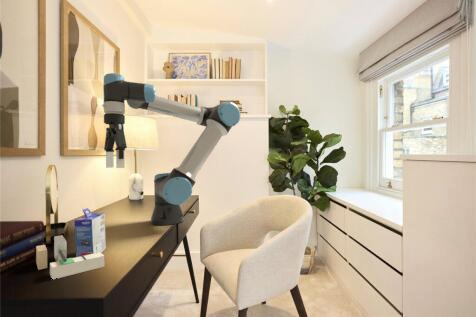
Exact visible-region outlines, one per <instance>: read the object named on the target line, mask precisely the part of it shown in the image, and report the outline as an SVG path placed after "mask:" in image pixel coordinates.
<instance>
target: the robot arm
mask: <svg viewBox="0 0 476 317" xmlns="http://www.w3.org/2000/svg"><path fill="white" fill-rule="evenodd" d="M102 88H103V104H102V105H101V106H102V108H103V113H104V114H103V123H104V124H105V125H108V127H106V129H105V130H106V131H105V140H104V147H103V148H104V151H105V168H109V169H110V168H112V169H113V168H114V152H115V156H116V157H115V160H116V161H115V163H116V164H115V165H116V169H125V150H126V149H127V147H128V146H127V142H126V136H125V129H124V125H125V124H126V123H125V122H126V121H125V120H126V118H125V117H126V116H125V113H126V106H125V105H126V104H125V101H126V103H127V105H128V107H129V108H131V109H132V110H133V109H135V110H137V109H141V110H146V111H149V112H154V113H158V114H161V115H165V116H170V117H174V118H178V119H182V120H187V121H190V122H195V123H196V124H197V125H198V126H203V127H205V128H204V129H203V131H202V133H200V135H199V136H198V139H196V141H195V142H194V144H193V146H192V147H191V148H190V150H189V151H188V152H187V154H186V156H185V157H184V158H183V160H182V161H181V163H180V165H179V166H178V167H173V169H172V170H170V172H164V173H157V174H155V175H154V180H153V182H154V183H153V184H154V186H153V187H154V207H153V210H152V214H151V216H150V223H151V224H152V225H157V226H168V225H169V226H170V225H176V224H179V223H182V222H183V221H184V214H183V211H182V208H181V205H182V204H184V203H187V202H188V201H189V199H190V198H191V196H192V194H193V188H194V186H195V184H196V181H197V180H196V176H197V175H198V173H199V172H200V170H201V169H202V168H203V166H204V165H205V163H206V161H207V160H208V159H209V157H210V155H211V154H212V152H213V151H214V149H215V147H216V146H217V145H218V143H219V141H221V138H222V137H223V136H227V135H228V134H229V132H230V130H231V129H232V128H233V127H235V126H236V125H238V124H239V122H240V121H241V112H240V108H239V107H238V105H237V104H236V103H234V102H232V101H222V102H221V103H220V104H217V105H215V106H213V107H212V106H211V107H206V106H200V107H198V106H195V105H192V104H188V103H184V102H180V101H177V100H172V99H169V98H166V97H162V96H159V95H156V94H157V93H156V92H157V90H156V86H155V85H153V84H149V83H142V82H131V81H127V80H125V77H124V75H121V74H118V73H114V72H113V73H111V72H110V73H106V74H104V76H103V87H102ZM114 146H116V147H115V150H114Z"/></svg>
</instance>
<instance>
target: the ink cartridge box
mask: <svg viewBox="0 0 476 317" xmlns="http://www.w3.org/2000/svg"><path fill="white" fill-rule="evenodd" d="M82 212H83V214H84V215H83V216H82V217H80V218H77V219H75V220H74V240H75V242H74V243H75V258H76V257H80V256H82V255H83V256H85V255H90V254H94V253H99V252H101V253H102V254H103V252H104V251H105V250H106V249H107V246H106V218H105V217H106V216H105V215H106V214H105V213H104V212H100V213H98V212H96V213H95V212H92V211H91V210H90V209H89V207H87V208H83V209H82Z"/></svg>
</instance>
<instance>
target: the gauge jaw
mask: <svg viewBox="0 0 476 317" xmlns="http://www.w3.org/2000/svg"><path fill="white" fill-rule="evenodd" d="M53 240H54V241H53V242H54V243H53V245H54V246H53V252H54V254H53V255H54V256H53V257H54V259H55V262H57V261H59V260H63V262H67V259H68V257H67V254H68V252H67V246H68V245H67V244H68V243H67V242H68V241H67V240H66V238H65V237H64V235H62V234H61V235H56V236H54V237H53Z"/></svg>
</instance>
